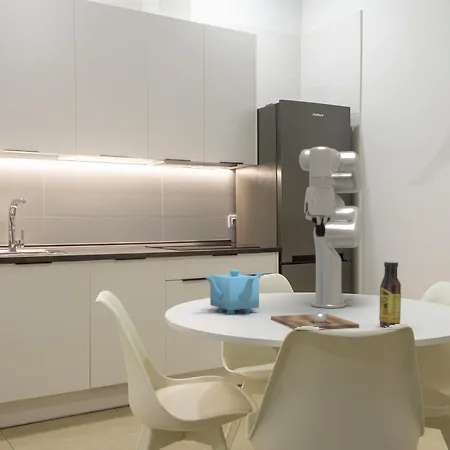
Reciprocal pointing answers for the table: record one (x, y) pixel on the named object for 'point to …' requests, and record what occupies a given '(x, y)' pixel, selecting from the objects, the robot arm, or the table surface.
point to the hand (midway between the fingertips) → (320, 236)
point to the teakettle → (234, 291)
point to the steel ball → (320, 318)
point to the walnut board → (307, 320)
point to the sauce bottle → (390, 296)
